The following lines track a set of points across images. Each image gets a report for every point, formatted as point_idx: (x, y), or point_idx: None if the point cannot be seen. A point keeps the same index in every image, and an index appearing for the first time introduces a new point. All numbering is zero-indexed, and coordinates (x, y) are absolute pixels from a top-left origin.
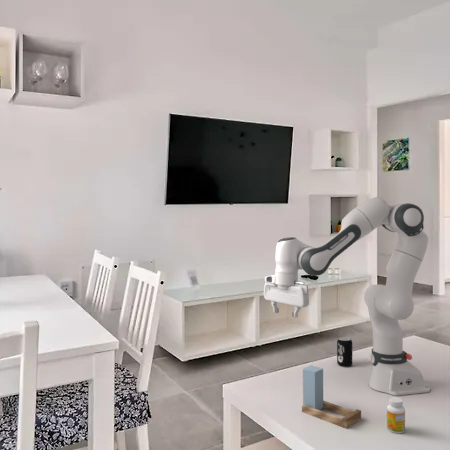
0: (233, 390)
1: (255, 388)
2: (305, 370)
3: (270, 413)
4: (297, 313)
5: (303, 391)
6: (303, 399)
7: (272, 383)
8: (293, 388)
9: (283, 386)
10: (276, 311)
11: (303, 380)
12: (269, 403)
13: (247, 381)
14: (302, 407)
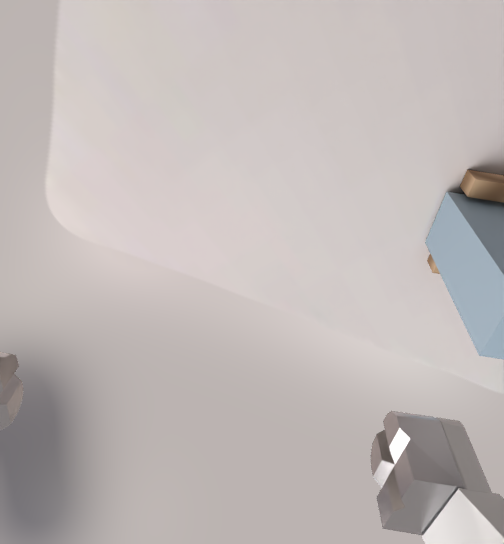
0: (107, 240)
1: (157, 177)
2: (495, 355)
3: (331, 317)
4: (478, 484)
5: (446, 281)
6: (436, 262)
7: (176, 76)
8: (300, 70)
9: (244, 77)
10: (7, 418)
11: (462, 314)
12: (289, 262)
13: (70, 129)
14: (433, 269)
